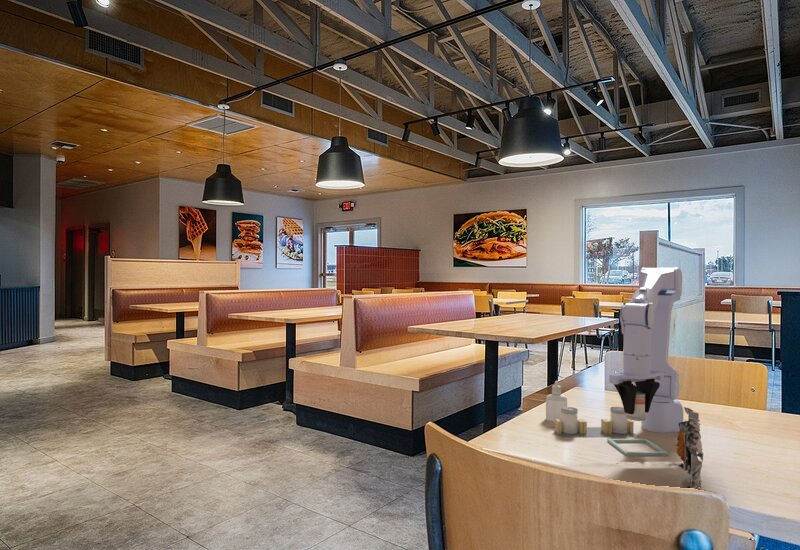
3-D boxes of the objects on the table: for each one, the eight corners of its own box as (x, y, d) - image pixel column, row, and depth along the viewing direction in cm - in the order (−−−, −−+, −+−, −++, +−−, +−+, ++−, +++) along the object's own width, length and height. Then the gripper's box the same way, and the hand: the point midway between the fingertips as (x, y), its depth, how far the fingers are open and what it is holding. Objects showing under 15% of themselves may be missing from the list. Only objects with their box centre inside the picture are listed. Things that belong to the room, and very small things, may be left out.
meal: (674, 465, 109) (674, 405, 109) (697, 469, 107) (697, 408, 107) (677, 492, 95) (678, 424, 95) (703, 496, 93) (704, 427, 93)
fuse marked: (649, 420, 115) (649, 394, 115) (635, 421, 114) (635, 395, 114) (635, 415, 119) (635, 390, 119) (621, 416, 117) (622, 391, 118)
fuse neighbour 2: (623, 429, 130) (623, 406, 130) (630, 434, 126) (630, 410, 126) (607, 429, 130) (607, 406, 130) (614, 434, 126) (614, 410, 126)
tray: (646, 446, 121) (646, 438, 121) (668, 460, 111) (668, 452, 111) (607, 446, 121) (607, 438, 121) (626, 461, 111) (626, 453, 111)
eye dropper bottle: (562, 428, 135) (562, 384, 135) (543, 423, 139) (543, 381, 139) (569, 424, 138) (569, 381, 138) (550, 420, 142) (550, 378, 142)
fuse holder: (624, 431, 132) (624, 415, 132) (640, 441, 124) (640, 424, 124) (550, 431, 132) (550, 416, 132) (561, 442, 124) (561, 425, 124)
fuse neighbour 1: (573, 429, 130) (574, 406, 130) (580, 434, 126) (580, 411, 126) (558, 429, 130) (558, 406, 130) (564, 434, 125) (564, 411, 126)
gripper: (646, 350, 122) (646, 405, 122) (599, 353, 117) (599, 410, 117) (671, 354, 116) (670, 412, 116) (622, 358, 111) (622, 418, 111)
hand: (636, 412), depth 116 cm, fingers closed on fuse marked, 4 cm apart
